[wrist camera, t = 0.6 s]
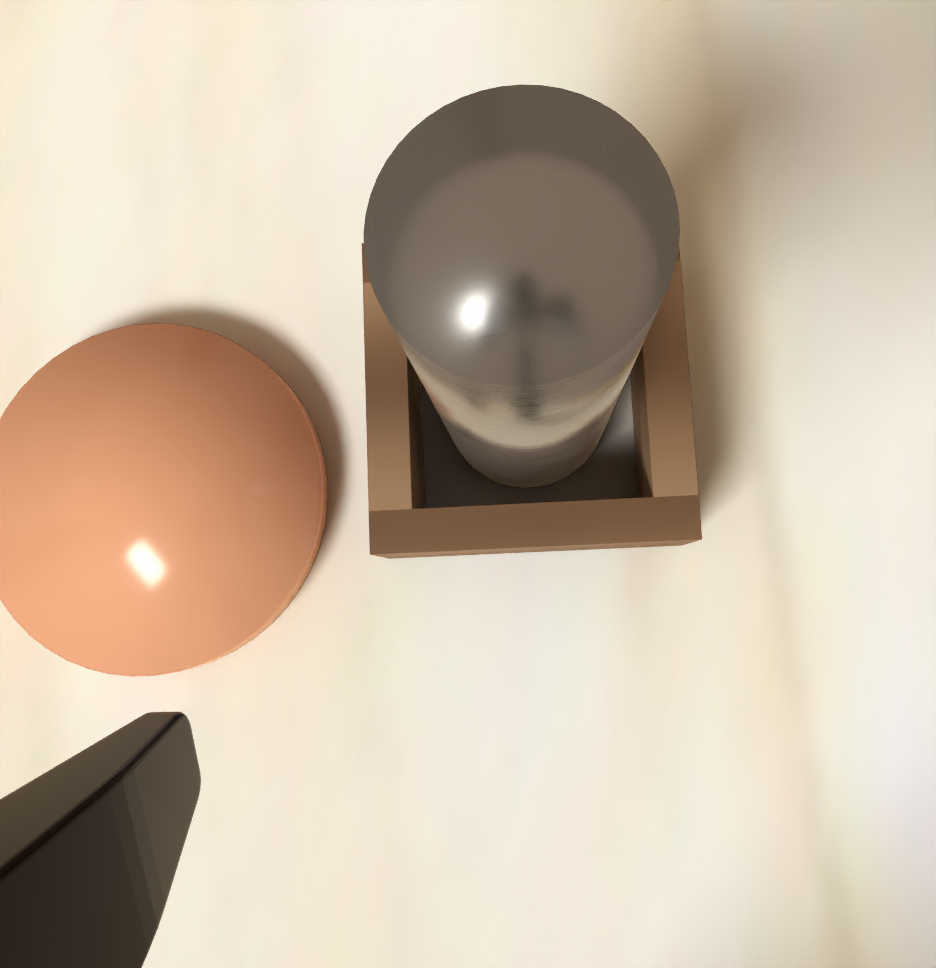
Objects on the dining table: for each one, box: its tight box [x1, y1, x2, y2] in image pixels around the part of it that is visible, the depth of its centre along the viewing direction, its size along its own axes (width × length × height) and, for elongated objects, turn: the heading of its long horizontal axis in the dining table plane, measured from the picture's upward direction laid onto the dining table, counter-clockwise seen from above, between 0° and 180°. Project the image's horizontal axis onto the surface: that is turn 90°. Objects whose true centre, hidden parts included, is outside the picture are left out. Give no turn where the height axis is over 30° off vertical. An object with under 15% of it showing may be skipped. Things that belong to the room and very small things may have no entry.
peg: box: [364, 85, 680, 488], centre depth 19 cm, size 5×5×13 cm
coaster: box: [0, 323, 328, 676], centre depth 26 cm, size 11×11×1 cm
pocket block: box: [362, 243, 702, 558], centre depth 24 cm, size 9×9×3 cm
